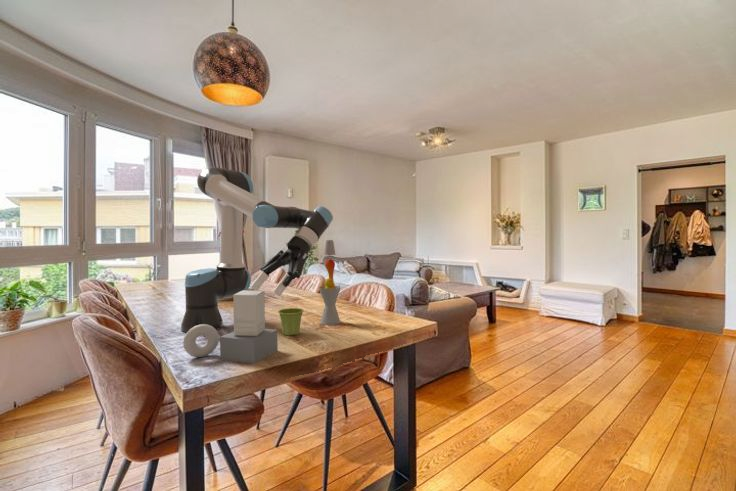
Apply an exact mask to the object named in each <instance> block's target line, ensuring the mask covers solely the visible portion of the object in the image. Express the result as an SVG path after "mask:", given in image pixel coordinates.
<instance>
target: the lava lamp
mask: <svg viewBox="0 0 736 491" xmlns="http://www.w3.org/2000/svg"><path fill="white" fill-rule="evenodd" d="M324 245H325V246H324V252H323V255H324V256H334V255H335V256H336V250H335V249H336V248H335V243H334V240H333V239H326V240H325V244H324ZM335 266H336V263H335V261H334V260H333V259H330V258H329V259H327V260H326V261H325V262H324V268H326V271H327V273H328V278H326V279H325V281H324V284H325V285H323V286H319V291H320V292H319V293H320V295H321V297H322V300H323V303H324V307H323V311H322V315H321V319H320V322H319V324H320V323H321V325H324V326H333V325H334V326H335V325H339V324H340V323H341V318H340V316H339V313H338V309H337V307H336V303H337V300H338V297H339V294H340V291H341V286H340V285H336V284H335V282H334V272H335Z"/></svg>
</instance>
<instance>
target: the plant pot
mask: <svg viewBox="0 0 736 491" xmlns="http://www.w3.org/2000/svg"><path fill="white" fill-rule="evenodd" d="M277 312H278V314H279V317H280V322H281V323H280V324H281V331H282V334H283V335H284V336H290V335H291V336H293V335H295V336H296V335H299V334H300V330H301V322H302V316H303V314H304V309H303V308H297V307H296V308H295V307H294V308H293V307H289V308H283V309H278V311H277Z"/></svg>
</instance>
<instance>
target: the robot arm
mask: <svg viewBox="0 0 736 491" xmlns="http://www.w3.org/2000/svg"><path fill="white" fill-rule="evenodd" d="M197 186H198V189H199V190H200V192H202V193H203V195H205V196H207V197H209V198H211V199H213V200H216V199H217V202H218V203H219V205H221V218H220V219H221V220H220V221H221V222H220V223H221V224H220V225H221V226H220V228H221V229H220V262H219V263H218V264H217V265H216V268H211V267H210V268H209V267H208V268H201V269H196V270H192V271H190V272H188V273H187V274H186V275H185V277H184V278H185V279H184V287H185V288H184V289H185V290H184V291H185V292H184V294H185V295H184V296H185V311H184V315H183V318H182V320H181V324H180V330H181V332H183V333H187V332H188V331H189V330H190V329H191V328H193V327H194V326H197V325H200V324H207V325H210V326H212V327H213V328H215V329H216V331H217V330H219V329H222V328H223V327H224V321H223V318H222V315H221V312H220V309H219V302H218V301H219V300H221V299H226V298H231V297H232V298H233V295H234V294H236V293H238V292H240V291H243V290H248V291H249V289H250V288H251V289H252V291H259V290H260V288H261V287H262V286H263V285H264V283H265V282H266V281H267V279H268V278H269V277H270V274H272V273H273V272H275V271H276V270H278V269H279V268H281V267H282V266H283V267H285V266H287V265H288V271H287V272H286V273H285V274H284V275H283V277H282V278H281V279H280V281H279V282H278V283H277V285H276V286H275V287H274V289H273V290H272V291H273V292H274V294H276V296H278V297H281V296H282V294H283V293H284V292H285V290H286V289H287V288H288V286H289V285H290V284H291V283H292V281H293V280H295V279H300V278H301V276H302V272H303V270H304V266H305V264H306V261H307V259H308V258H309V255H308V254H309V253H310V251H311V250H312V249H313V247H314V246H315V244H316V243H317V242H318V240H319V239H320V238H321V237H322V235H323V234H324V232H326V230H327V229H328V228H329V226H330V225H331V223H332V222H333V220H334V217H333V213H332V212H331V211H330V210H329V209H328V208H327V207H325V206H322V205H320V206H317V207H315V209H314V210H308V209H302V208H299V207H295V206H281V205H280V206H279V205H274V204H271V203H269V202H267V201H266V200H264V199H262V198H261V197H258V196H256V195H255V194H253V191H254V183H253V180H252V178H251V177H250V176H249V175H248V174H247V173H245V172H242V171H239V170H233V169H228V168H221V167H217V166H209V167H207V168H204V169H203V170H201V172H199V174H198V176H197ZM244 215H245V216H248V217H250V218H251V219H252V221H253V222H254V224H255V225H256V227H259V228H265V229H273V228H274V229H277V228H278V229H297V231H296V232H295V233H294V235H293V236H292V237H291V239H290V240H289V241H288V242H287V244H286V245H287V246H286V247H287V249H286V250H285V251H284V250H283V249H281V250H279V252H277V253H276V255H275V256H273V257H272V258H271V259H269V260H268V261H266V263H265V264H263V265H262V266H261V267H260V268H259V270H260V271H261V273H259V275H258V276H257V277H256V279H254V281H253V282H252V276H251V274H250V272H249V271H248V269H246V264H244V263H243V233H244V232H243V230H244V229H243V228H244V227H243V225H244V224H243V223H244V222H243V221H244V220H243V219H244Z"/></svg>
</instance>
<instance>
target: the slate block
mask: <svg viewBox="0 0 736 491" xmlns="http://www.w3.org/2000/svg"><path fill="white" fill-rule="evenodd" d="M219 344H220V345H219V349H220V350H219V354H220V356H219V358H220V360H223V361H224V360H225V361H232V362H239V363H247V364H255V363H256V364H257V363H258V362H259V360H260V361H261V360H263V359H265V358H267V357H269V356H270V355H269V354H271V355H273V354H274V353H276V352H278V351H277V350H278V348H279V347H278V329H272V328H265V330H264V331H262V332H261V333H260V334H259V335H257V336H239V335H234V331H232V332H230V333H227V334H226V333H225V334H224V335H221V336H219ZM275 351H276V352H275ZM273 352H274V353H273ZM272 353H273V354H272ZM268 355H269V356H268ZM266 356H267V357H266ZM264 357H265V358H264Z"/></svg>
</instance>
